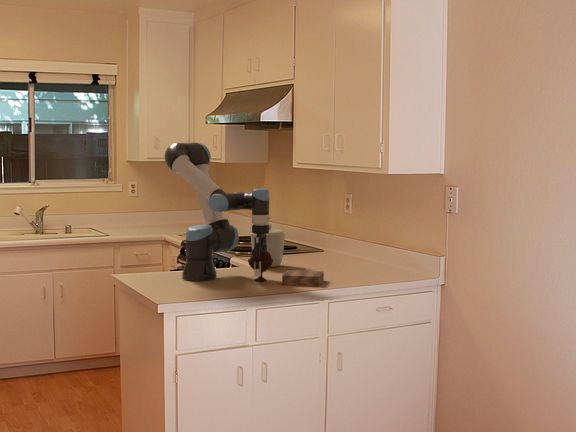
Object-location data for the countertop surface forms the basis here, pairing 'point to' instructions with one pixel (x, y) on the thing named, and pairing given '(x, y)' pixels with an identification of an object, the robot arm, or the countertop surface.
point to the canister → (273, 244)
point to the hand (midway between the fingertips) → (260, 274)
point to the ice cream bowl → (265, 263)
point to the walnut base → (303, 278)
